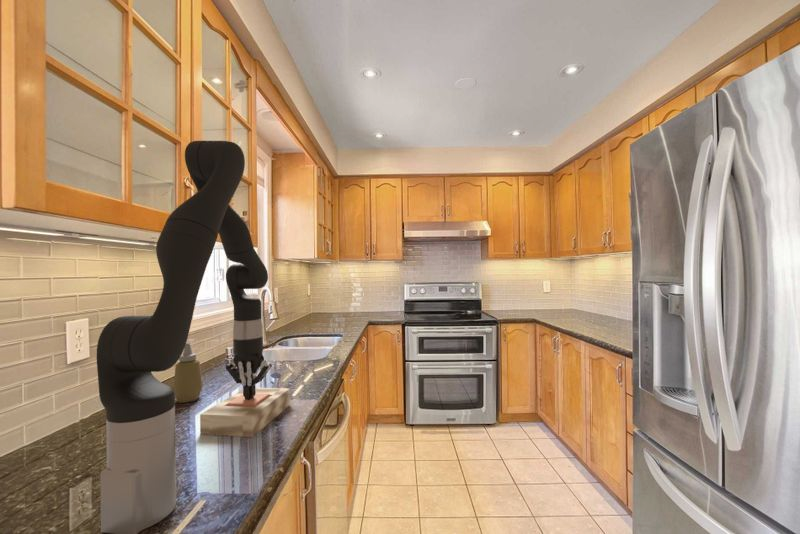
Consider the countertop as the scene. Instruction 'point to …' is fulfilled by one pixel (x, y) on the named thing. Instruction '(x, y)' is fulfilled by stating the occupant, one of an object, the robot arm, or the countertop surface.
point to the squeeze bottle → (187, 377)
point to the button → (248, 401)
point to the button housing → (244, 414)
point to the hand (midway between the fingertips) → (249, 398)
